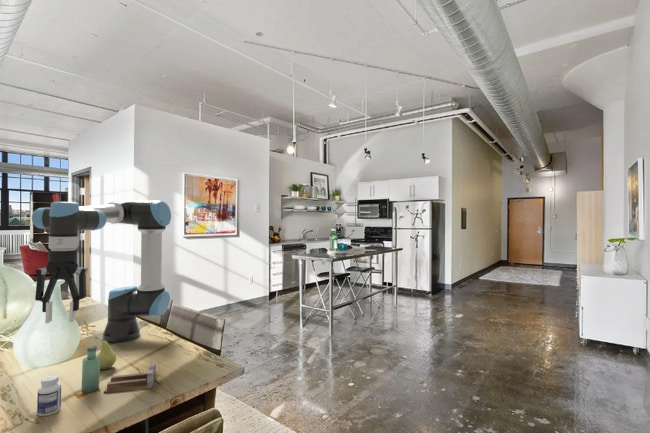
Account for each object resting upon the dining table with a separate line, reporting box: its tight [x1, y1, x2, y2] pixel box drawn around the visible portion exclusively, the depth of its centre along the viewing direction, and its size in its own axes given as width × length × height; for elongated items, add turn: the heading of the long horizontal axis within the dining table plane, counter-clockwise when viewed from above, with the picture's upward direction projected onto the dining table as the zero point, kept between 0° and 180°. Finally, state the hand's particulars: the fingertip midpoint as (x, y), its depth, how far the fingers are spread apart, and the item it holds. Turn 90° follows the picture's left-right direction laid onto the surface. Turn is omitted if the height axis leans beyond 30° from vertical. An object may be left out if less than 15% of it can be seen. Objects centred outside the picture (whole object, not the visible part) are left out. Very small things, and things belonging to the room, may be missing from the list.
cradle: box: [103, 361, 157, 394], centre depth 118 cm, size 9×14×5 cm, turn 108°
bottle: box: [81, 345, 101, 393], centre depth 114 cm, size 5×5×14 cm
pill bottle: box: [36, 374, 62, 417], centre depth 101 cm, size 5×5×10 cm
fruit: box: [94, 336, 117, 370], centre depth 130 cm, size 7×8×12 cm
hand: (60, 321), depth 112 cm, fingers open, 6 cm apart
